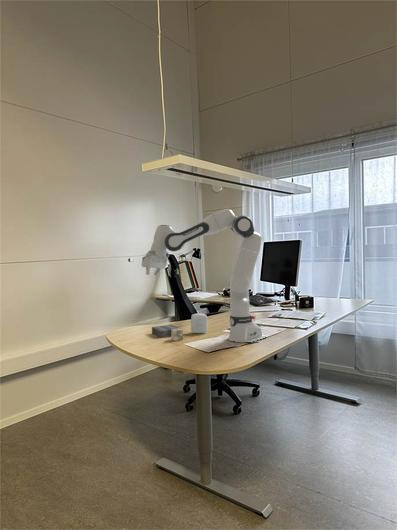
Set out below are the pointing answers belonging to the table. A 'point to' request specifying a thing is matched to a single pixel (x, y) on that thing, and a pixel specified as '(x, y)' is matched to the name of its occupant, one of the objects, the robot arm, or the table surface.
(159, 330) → the riser block
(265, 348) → the table surface
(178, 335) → the ash block
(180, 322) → the table surface
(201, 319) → the photo printer
